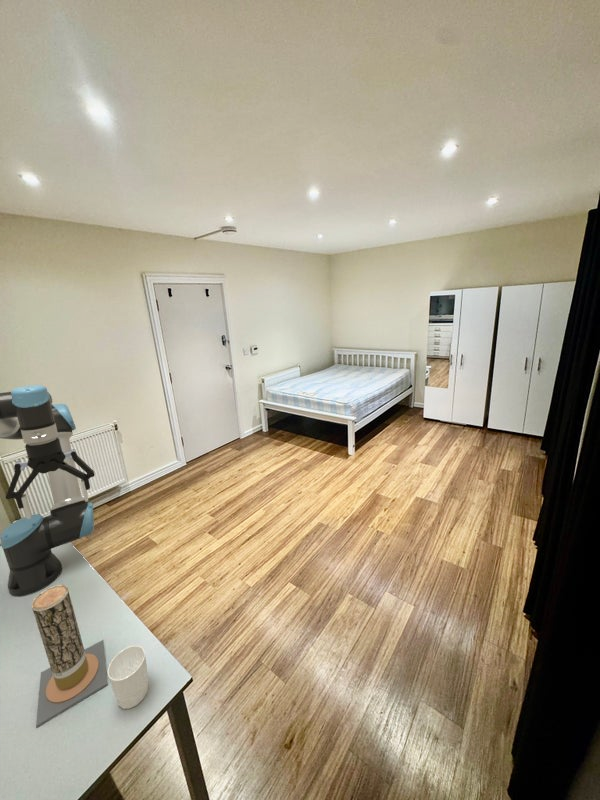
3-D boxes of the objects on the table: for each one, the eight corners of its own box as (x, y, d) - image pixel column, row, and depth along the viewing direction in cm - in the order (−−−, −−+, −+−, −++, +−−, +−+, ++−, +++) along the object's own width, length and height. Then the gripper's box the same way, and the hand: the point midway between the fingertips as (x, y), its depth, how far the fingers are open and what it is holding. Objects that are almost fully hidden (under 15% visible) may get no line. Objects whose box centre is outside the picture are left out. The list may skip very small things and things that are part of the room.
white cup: (142, 668, 81) (136, 638, 79) (157, 689, 76) (150, 658, 74) (110, 696, 75) (102, 665, 73) (123, 721, 70) (115, 688, 68)
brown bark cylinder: (71, 694, 75) (47, 611, 69) (49, 688, 76) (23, 607, 70) (95, 664, 81) (74, 586, 75) (74, 659, 83) (52, 583, 77)
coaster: (41, 674, 81) (40, 670, 80) (103, 641, 89) (102, 638, 88) (36, 728, 70) (35, 724, 69) (108, 685, 78) (107, 681, 77)
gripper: (-24, 457, 76) (-1, 531, 81) (95, 433, 90) (109, 498, 95) (-17, 448, 82) (4, 518, 87) (94, 427, 96) (106, 488, 101)
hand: (59, 507), depth 91 cm, fingers open, 13 cm apart
